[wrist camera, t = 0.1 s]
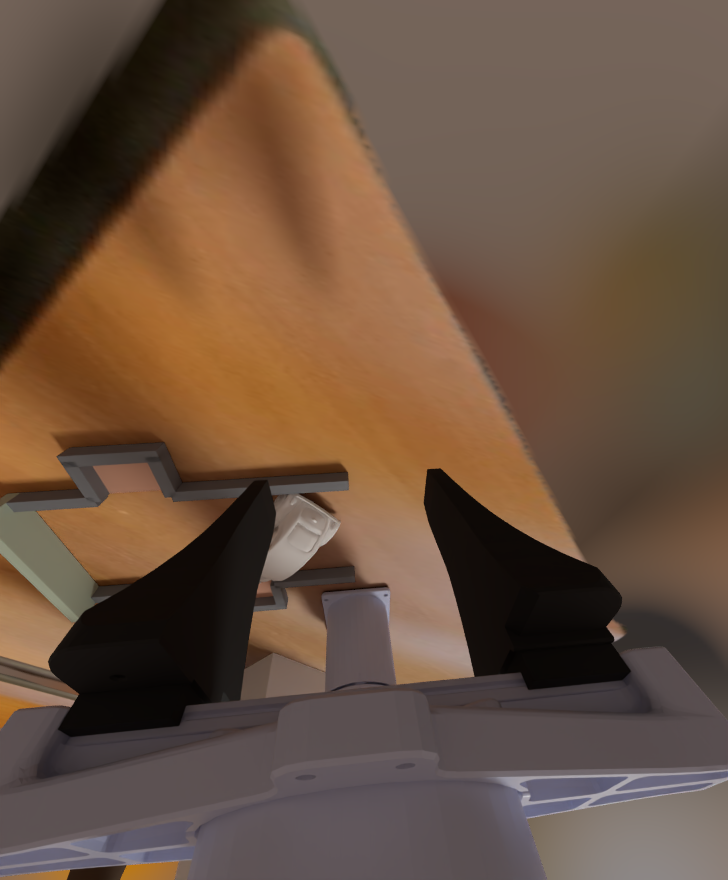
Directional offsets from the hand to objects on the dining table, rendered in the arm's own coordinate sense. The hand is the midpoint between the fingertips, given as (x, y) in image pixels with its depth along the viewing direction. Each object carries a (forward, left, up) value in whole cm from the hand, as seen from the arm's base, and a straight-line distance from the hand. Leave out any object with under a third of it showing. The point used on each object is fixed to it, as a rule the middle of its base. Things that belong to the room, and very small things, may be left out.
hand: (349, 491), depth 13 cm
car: (-13, +7, -10) cm, 19 cm away
